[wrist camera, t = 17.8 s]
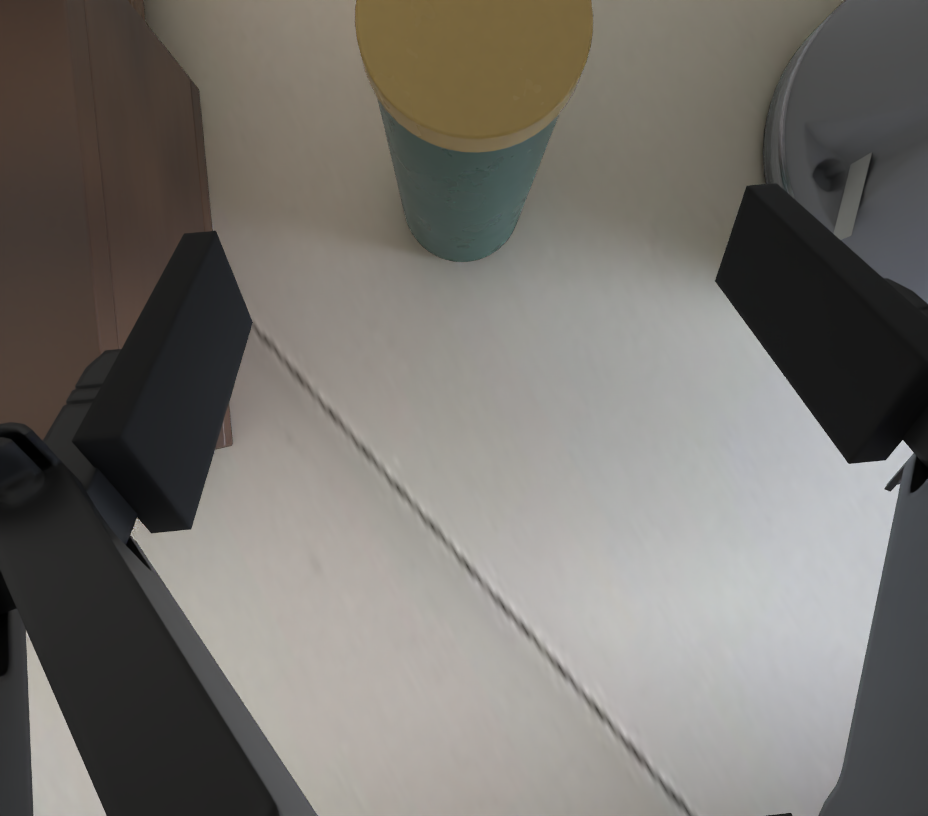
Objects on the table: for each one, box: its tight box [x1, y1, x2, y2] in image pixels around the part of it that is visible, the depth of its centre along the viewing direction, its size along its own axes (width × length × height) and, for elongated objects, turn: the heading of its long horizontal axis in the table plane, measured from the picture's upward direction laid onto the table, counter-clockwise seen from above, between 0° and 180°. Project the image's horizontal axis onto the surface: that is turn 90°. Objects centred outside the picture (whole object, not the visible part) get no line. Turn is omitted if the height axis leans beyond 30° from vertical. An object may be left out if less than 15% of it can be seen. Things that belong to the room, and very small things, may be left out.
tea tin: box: [355, 0, 593, 262], centre depth 19 cm, size 6×6×12 cm
